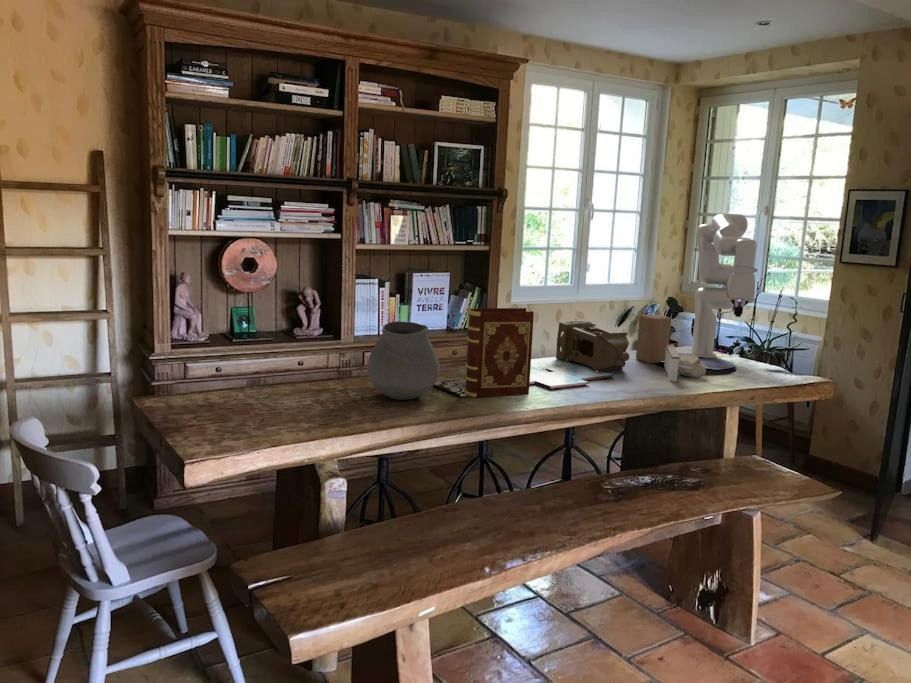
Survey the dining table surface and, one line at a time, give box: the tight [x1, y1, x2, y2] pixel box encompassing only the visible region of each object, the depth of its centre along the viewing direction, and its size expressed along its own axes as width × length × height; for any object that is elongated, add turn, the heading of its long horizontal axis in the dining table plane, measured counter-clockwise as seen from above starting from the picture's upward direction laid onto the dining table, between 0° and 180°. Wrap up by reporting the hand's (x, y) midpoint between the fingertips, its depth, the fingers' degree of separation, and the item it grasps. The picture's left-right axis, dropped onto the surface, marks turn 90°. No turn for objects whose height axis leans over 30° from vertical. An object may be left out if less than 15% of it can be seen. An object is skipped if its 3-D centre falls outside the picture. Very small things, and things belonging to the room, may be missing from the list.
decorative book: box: [464, 307, 535, 398], centre depth 259 cm, size 22×8×30 cm, turn 106°
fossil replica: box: [678, 354, 707, 379], centre depth 299 cm, size 12×8×10 cm
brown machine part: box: [555, 319, 630, 372], centre depth 308 cm, size 35×18×18 cm, turn 31°
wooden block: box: [635, 313, 672, 364], centre depth 323 cm, size 10×10×20 cm
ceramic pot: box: [367, 320, 441, 401], centre depth 250 cm, size 24×24×25 cm
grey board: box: [663, 343, 680, 382], centre depth 301 cm, size 27×3×10 cm, turn 169°
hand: (737, 316), depth 295 cm, fingers closed
